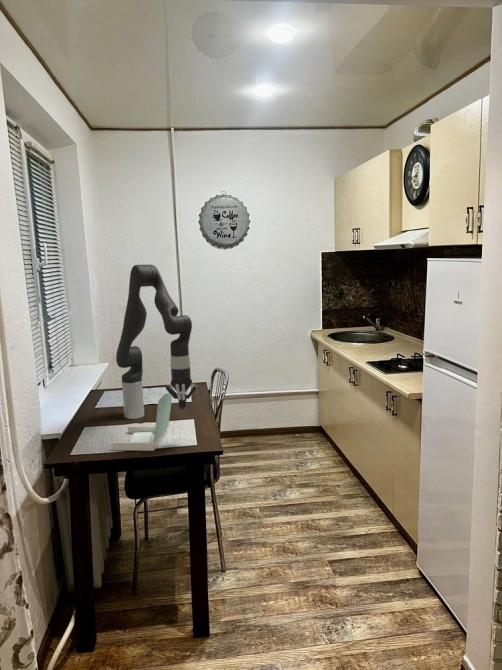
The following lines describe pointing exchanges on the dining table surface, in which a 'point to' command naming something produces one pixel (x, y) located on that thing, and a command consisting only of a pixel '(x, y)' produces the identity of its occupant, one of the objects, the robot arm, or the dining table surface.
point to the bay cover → (162, 415)
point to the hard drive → (142, 437)
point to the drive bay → (138, 445)
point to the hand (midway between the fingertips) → (182, 408)
